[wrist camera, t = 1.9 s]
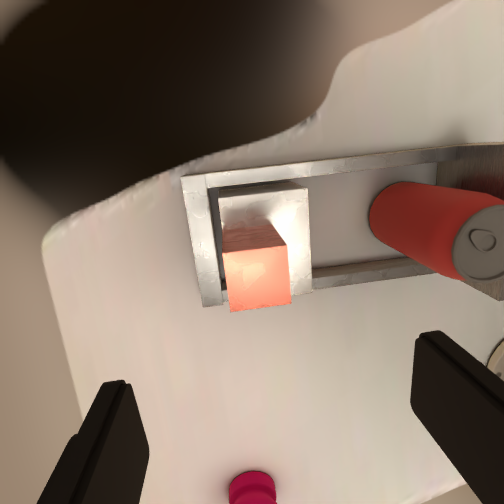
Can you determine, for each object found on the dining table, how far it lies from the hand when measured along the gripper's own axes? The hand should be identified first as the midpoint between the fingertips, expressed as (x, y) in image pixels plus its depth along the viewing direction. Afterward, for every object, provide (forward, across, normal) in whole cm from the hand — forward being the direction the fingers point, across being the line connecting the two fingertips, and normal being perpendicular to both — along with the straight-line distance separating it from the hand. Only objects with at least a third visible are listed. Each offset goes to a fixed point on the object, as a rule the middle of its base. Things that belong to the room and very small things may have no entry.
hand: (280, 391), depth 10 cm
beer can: (+22, -17, 0) cm, 28 cm away
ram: (+22, -2, 0) cm, 22 cm away
